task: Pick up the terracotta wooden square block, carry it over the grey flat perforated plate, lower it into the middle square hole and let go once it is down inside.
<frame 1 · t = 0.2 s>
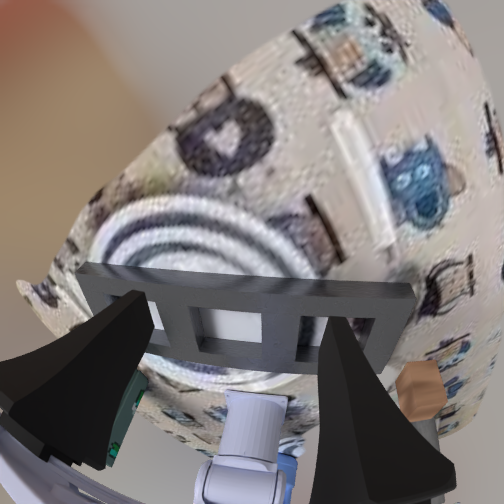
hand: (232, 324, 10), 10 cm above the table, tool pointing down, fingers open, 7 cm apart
water jug: (263, 457, 48), on the table
can: (129, 372, 34), on the table
grey flat perforated plate: (231, 319, 24), on the table
hip flask: (418, 420, 33), on the table
square block: (415, 371, 25), on the table
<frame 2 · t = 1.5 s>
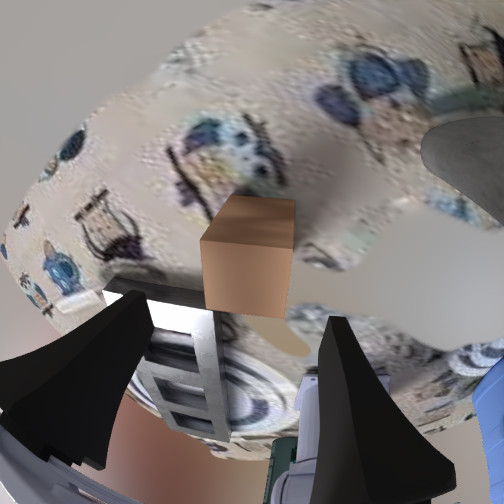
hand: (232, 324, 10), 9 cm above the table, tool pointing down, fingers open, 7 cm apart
can: (291, 442, 36), on the table
grey flat perforated plate: (186, 382, 29), on the table
hip flask: (503, 141, 11), on the table
square block: (261, 226, 18), on the table
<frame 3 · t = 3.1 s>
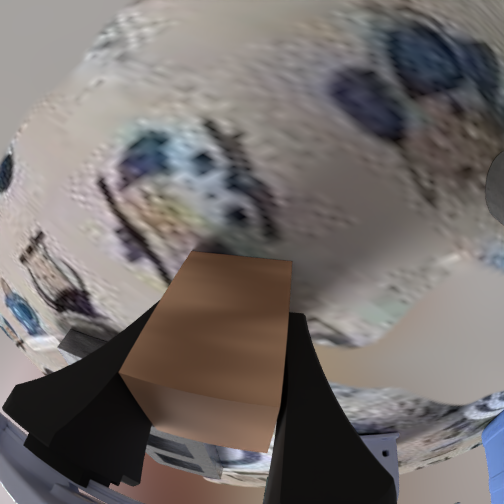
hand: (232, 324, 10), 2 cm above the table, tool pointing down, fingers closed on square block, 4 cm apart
grey flat perforated plate: (168, 430, 23), on the table
square block: (240, 295, 12), on the table, touching gripper
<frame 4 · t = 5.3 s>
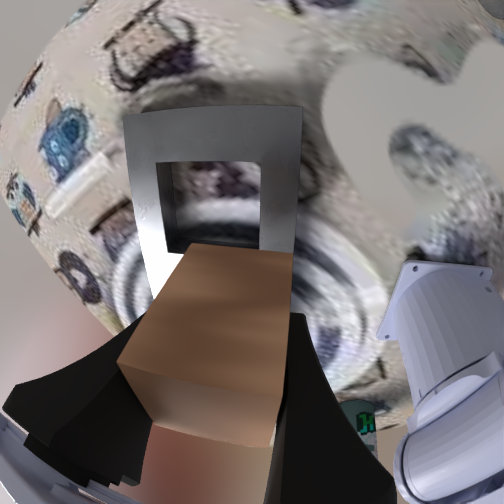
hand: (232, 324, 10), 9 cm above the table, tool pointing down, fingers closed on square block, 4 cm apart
can: (349, 409, 29), on the table
grey flat perforated plate: (223, 307, 22), on the table
square block: (240, 288, 12), point 7 cm above the table, touching gripper
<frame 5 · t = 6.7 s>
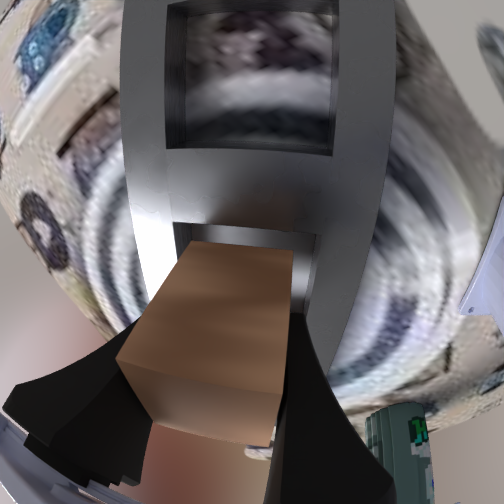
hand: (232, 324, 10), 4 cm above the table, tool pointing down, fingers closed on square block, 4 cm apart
can: (393, 414, 21), on the table
grey flat perforated plate: (250, 263, 14), on the table
square block: (240, 286, 11), point 2 cm above the table, touching gripper
when the fingers open (3 cm above the table, at t = 7.8 s): square block stays where it is, resting in grey flat perforated plate.
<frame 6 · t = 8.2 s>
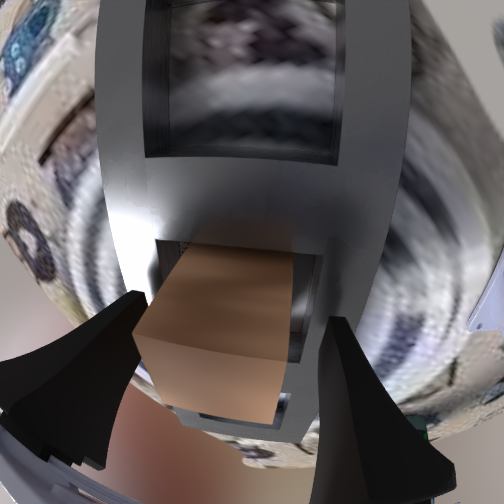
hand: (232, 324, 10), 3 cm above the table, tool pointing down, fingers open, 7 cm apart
grey flat perforated plate: (244, 282, 12), on the table
square block: (245, 274, 12), resting in grey flat perforated plate
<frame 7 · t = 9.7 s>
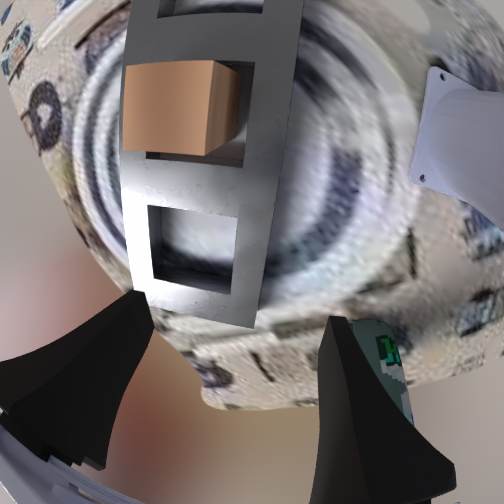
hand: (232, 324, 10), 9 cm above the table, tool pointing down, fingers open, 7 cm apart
can: (360, 341, 23), on the table
grey flat perforated plate: (205, 109, 15), on the table
square block: (206, 103, 15), resting in grey flat perforated plate
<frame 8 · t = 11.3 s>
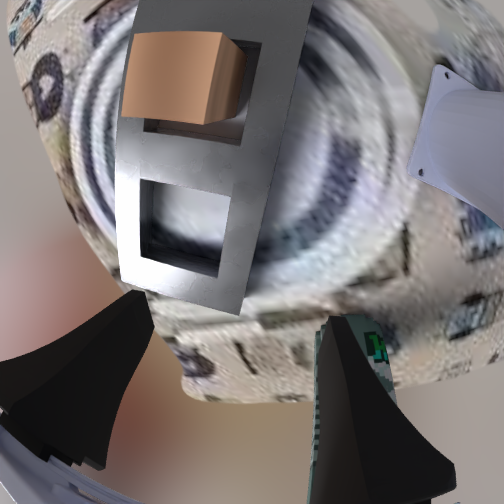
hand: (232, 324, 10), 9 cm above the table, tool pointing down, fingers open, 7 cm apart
can: (347, 337, 23), on the table
grey flat perforated plate: (207, 87, 14), on the table
square block: (209, 82, 14), resting in grey flat perforated plate
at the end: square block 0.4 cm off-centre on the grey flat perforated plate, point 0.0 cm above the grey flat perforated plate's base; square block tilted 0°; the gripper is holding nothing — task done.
